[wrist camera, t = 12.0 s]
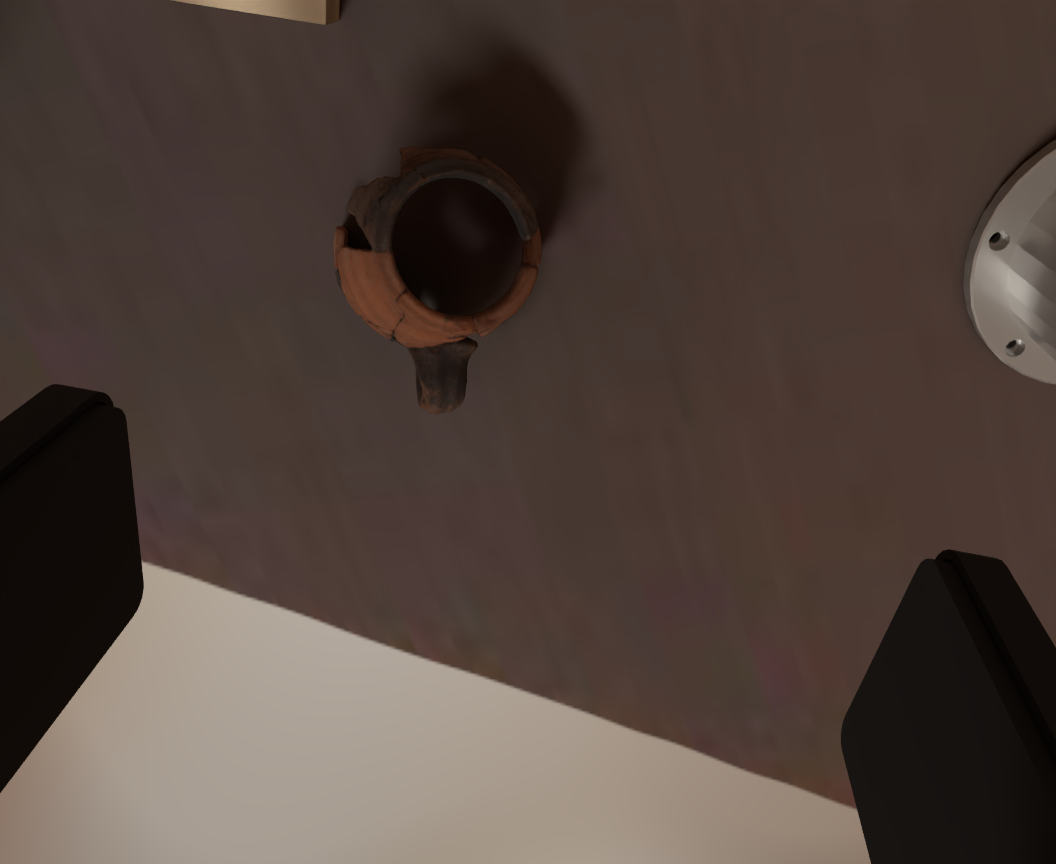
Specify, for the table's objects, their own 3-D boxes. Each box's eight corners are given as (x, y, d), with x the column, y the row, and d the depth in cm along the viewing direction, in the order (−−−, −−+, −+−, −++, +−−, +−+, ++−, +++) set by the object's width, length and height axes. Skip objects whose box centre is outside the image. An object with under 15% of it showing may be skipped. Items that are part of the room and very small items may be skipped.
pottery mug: (306, 169, 40) (327, 148, 33) (494, 148, 43) (553, 124, 36) (352, 414, 43) (382, 447, 36) (526, 379, 46) (587, 403, 39)
